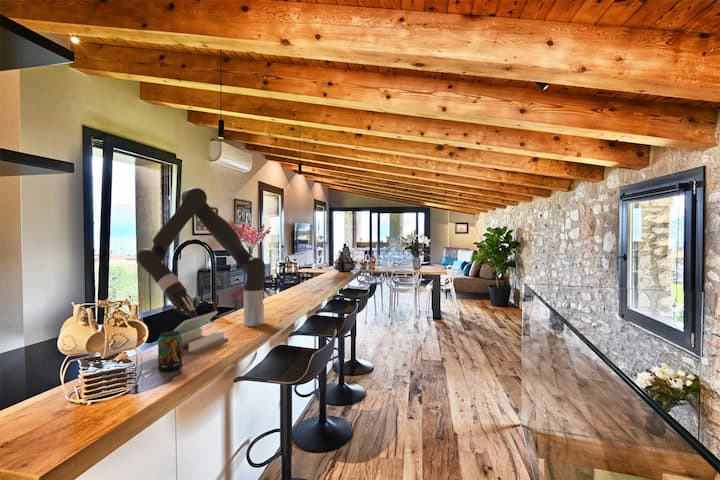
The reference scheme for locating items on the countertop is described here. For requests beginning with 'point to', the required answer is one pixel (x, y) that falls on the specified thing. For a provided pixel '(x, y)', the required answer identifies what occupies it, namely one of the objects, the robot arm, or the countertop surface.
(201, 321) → the cover
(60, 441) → the countertop surface
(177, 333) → the beverage can
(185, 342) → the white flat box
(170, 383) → the countertop surface
